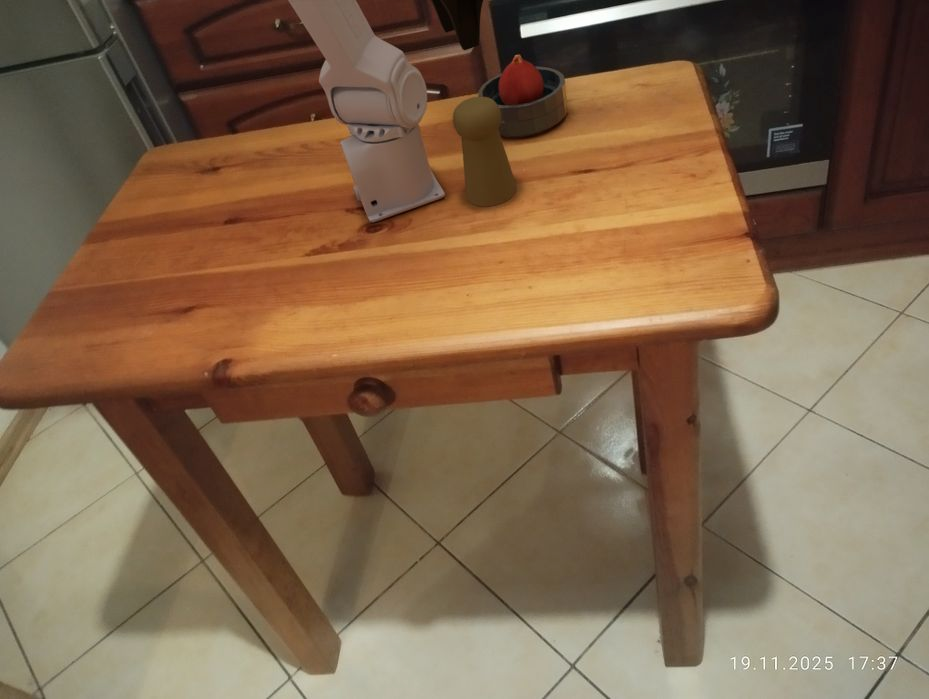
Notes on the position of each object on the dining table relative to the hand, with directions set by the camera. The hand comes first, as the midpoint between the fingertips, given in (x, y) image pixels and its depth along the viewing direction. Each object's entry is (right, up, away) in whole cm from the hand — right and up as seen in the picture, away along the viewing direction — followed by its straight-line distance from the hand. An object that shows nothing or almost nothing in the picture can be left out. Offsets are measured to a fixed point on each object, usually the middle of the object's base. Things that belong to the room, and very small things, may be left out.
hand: (461, 38), depth 87 cm
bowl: (+9, -9, +3) cm, 13 cm away
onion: (+8, -9, +3) cm, 13 cm away
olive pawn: (+4, -22, -8) cm, 23 cm away
